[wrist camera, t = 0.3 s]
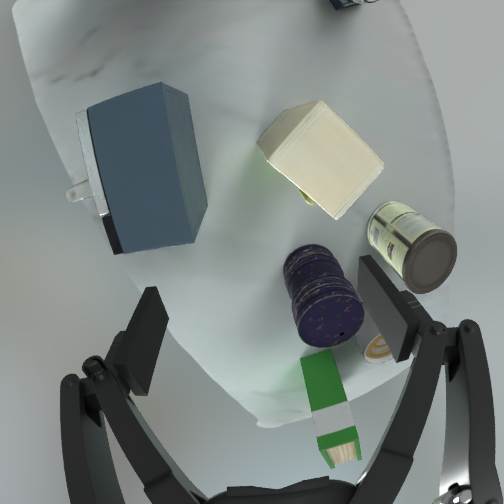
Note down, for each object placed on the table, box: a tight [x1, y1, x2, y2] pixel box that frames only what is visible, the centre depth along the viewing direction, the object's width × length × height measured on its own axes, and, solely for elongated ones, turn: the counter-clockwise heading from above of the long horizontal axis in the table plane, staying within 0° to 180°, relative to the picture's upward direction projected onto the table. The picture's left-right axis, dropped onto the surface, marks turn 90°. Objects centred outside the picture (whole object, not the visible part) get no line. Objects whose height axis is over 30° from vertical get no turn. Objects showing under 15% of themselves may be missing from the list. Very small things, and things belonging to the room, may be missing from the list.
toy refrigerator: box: [257, 100, 384, 220], centre depth 29 cm, size 8×7×21 cm
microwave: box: [87, 82, 208, 255], centre depth 33 cm, size 11×18×14 cm, turn 8°
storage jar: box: [283, 244, 365, 348], centre depth 42 cm, size 10×10×15 cm
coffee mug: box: [354, 302, 393, 364], centre depth 51 cm, size 13×10×10 cm
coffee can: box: [367, 201, 457, 294], centre depth 39 cm, size 10×10×14 cm
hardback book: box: [300, 349, 362, 469], centre depth 52 cm, size 18×7×24 cm, turn 21°
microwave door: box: [65, 109, 110, 215], centre depth 32 cm, size 8×13×14 cm, turn 8°
